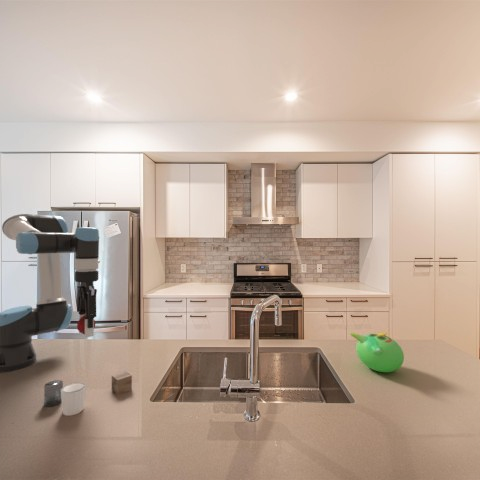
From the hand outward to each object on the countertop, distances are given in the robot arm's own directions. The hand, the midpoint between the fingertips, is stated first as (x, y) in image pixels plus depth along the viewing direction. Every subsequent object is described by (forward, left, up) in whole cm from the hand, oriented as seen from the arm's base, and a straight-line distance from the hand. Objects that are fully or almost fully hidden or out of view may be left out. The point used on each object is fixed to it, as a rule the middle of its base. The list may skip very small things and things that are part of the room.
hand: (86, 334), depth 104 cm
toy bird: (+69, +89, -19) cm, 114 cm away
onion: (0, 0, 0) cm, 0 cm away
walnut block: (+12, +8, -18) cm, 23 cm away
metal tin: (+5, -11, -18) cm, 22 cm away
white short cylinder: (+14, -8, -19) cm, 24 cm away
